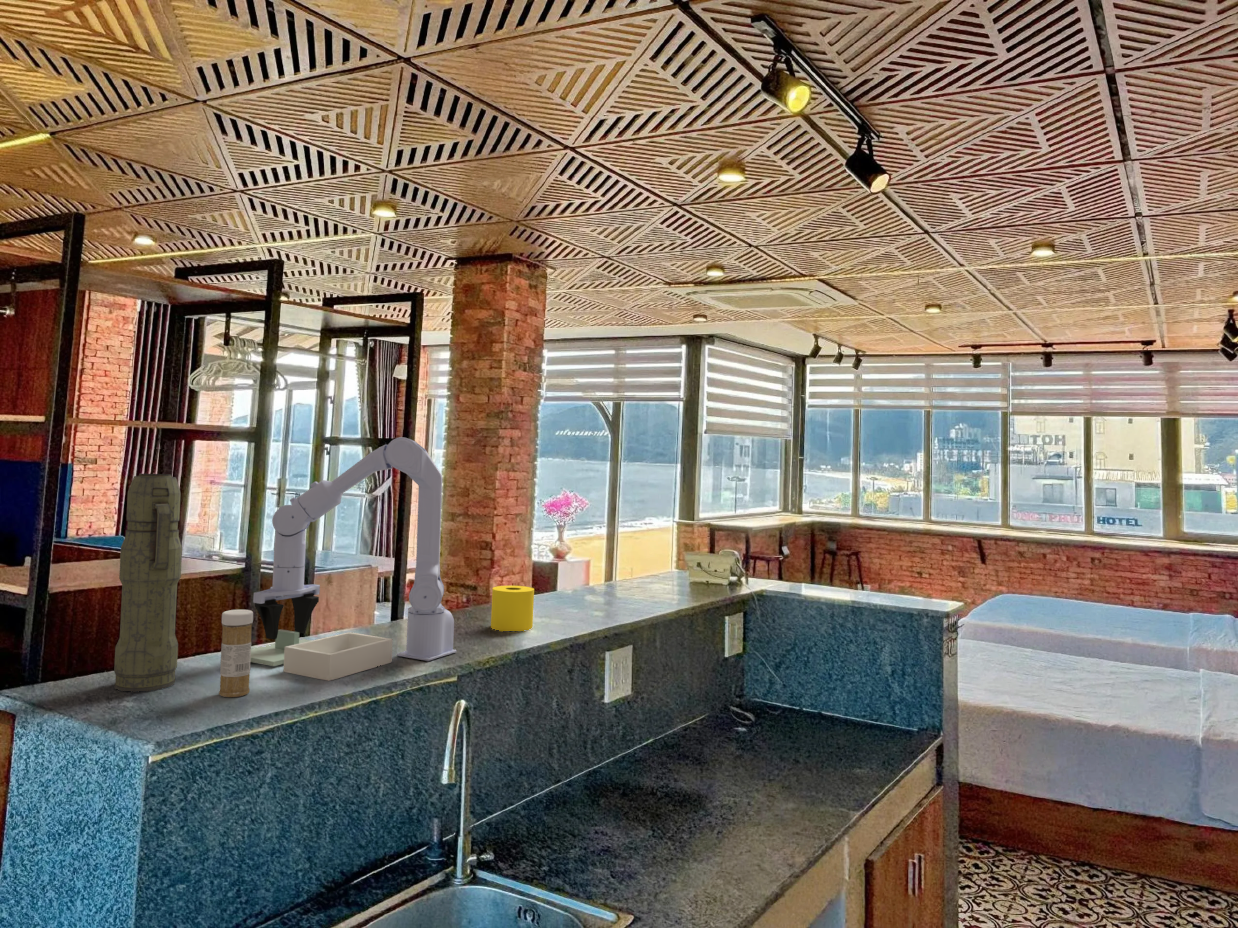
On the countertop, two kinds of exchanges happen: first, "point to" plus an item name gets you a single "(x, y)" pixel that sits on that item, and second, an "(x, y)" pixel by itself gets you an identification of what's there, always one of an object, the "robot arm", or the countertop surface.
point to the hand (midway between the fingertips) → (286, 635)
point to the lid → (276, 648)
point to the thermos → (149, 585)
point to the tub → (337, 655)
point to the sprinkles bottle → (235, 653)
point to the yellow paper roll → (512, 608)
